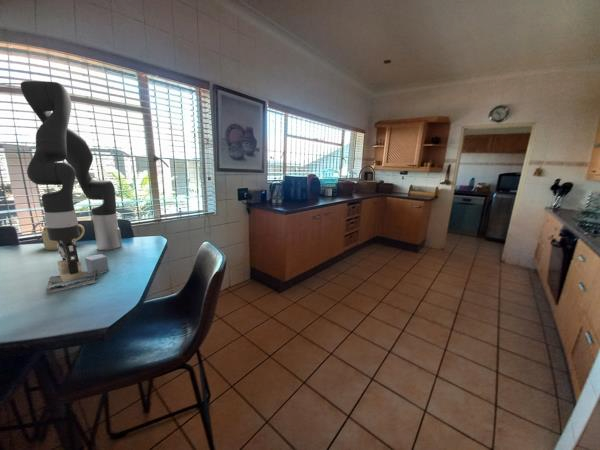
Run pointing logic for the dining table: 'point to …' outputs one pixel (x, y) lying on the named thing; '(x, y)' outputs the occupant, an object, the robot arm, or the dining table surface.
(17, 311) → the dining table surface
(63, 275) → the beech block
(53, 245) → the yellow teapot
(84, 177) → the robot arm
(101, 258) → the slate block
